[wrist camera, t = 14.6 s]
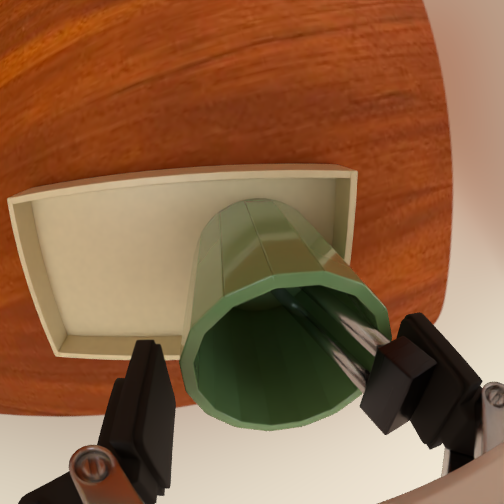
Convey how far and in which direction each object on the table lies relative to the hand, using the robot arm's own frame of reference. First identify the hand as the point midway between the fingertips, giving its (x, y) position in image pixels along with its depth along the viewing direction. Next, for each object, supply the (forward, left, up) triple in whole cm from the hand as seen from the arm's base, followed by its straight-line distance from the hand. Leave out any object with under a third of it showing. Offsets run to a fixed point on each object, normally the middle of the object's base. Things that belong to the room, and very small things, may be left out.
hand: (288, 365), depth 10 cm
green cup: (0, 0, -9) cm, 9 cm away
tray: (+5, 0, -9) cm, 10 cm away
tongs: (0, 0, -8) cm, 8 cm away
